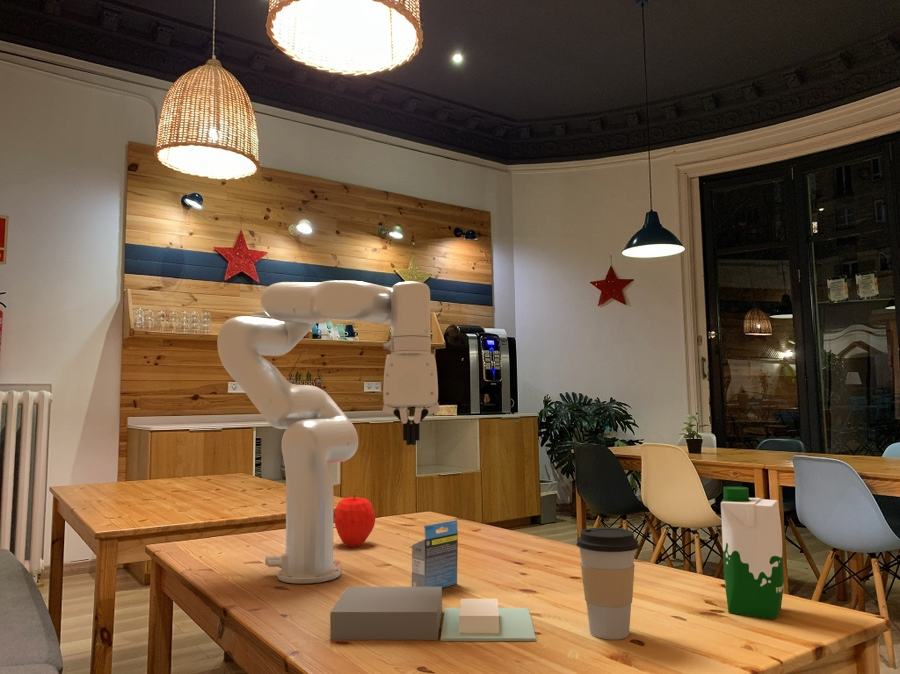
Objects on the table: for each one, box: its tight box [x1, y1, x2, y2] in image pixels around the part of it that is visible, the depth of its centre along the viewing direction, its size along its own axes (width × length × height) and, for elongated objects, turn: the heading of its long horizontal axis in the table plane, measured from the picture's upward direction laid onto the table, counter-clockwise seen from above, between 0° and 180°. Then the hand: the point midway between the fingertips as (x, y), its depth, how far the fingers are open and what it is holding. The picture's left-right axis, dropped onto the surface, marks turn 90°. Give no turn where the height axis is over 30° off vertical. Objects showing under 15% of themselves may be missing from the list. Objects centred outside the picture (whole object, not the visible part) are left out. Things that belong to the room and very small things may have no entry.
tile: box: [459, 598, 499, 633], centre depth 109 cm, size 6×9×2 cm, turn 177°
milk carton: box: [720, 485, 785, 621], centre depth 116 cm, size 9×9×20 cm
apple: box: [334, 494, 376, 548], centre depth 171 cm, size 10×10×12 cm
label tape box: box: [411, 519, 459, 589], centre depth 132 cm, size 9×4×12 cm, turn 135°
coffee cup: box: [575, 526, 640, 640], centre depth 106 cm, size 9×9×15 cm
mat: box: [440, 607, 537, 642], centre depth 110 cm, size 14×15×1 cm
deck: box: [329, 586, 443, 641], centre depth 110 cm, size 16×14×4 cm
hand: (411, 444), depth 130 cm, fingers closed
